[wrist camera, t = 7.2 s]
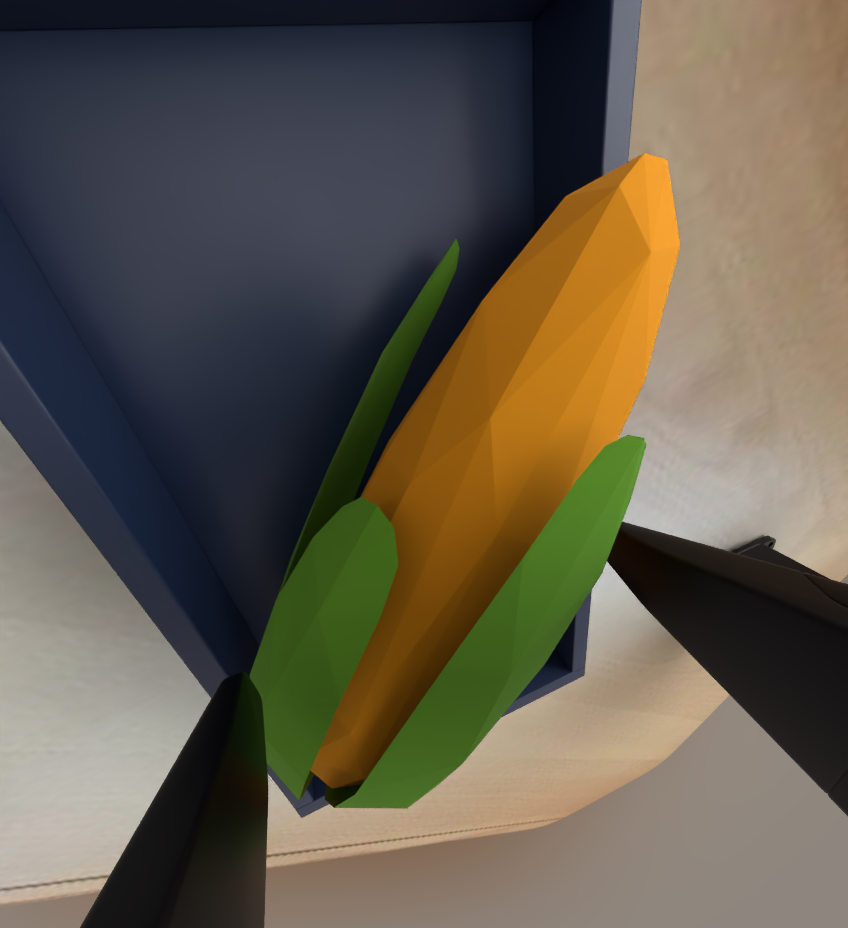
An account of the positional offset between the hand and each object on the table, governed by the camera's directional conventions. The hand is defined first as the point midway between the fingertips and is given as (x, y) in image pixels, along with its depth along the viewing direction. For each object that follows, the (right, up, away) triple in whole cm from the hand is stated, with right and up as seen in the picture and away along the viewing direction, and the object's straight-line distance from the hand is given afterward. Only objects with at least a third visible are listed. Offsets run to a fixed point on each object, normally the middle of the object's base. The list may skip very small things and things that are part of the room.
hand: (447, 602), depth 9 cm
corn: (-1, +3, +5) cm, 6 cm away
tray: (-2, +3, +6) cm, 6 cm away
